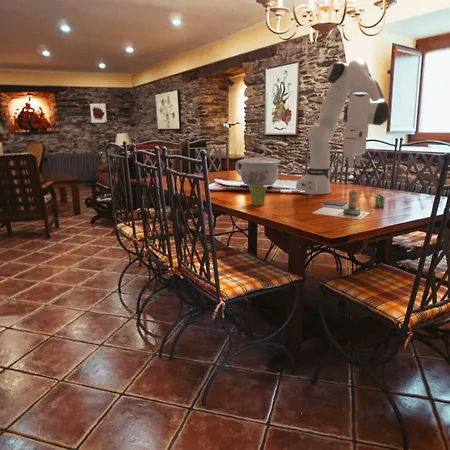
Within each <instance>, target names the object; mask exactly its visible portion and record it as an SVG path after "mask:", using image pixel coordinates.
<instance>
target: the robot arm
mask: <svg viewBox="0 0 450 450" xmlns="http://www.w3.org/2000/svg"><path fill="white" fill-rule="evenodd" d="M326 80H327V82H329V83H330V86H329V88H328V90H327V92H326V94H325V97H324V99H323V102H322V105H321V106H320V110H319V116H318V120H317V123H315V124H313V125H312V126H311V127H310V128H309V129H308V131H307V137H308V144H309V157H310V159H309V167H308V168H307V169H305V172H306V174H305V175H304V176H302V177H301V178H300V179H298V180H297V182H296V184H295V188H296V189H298V190H304V191H305V192H300V191H293V190H295V189H294V188H293V190H291V192H293V193H299V194H306V195H326V194H327V195H328V194H331V193H332V189H331V184H330V181H331V180H330V178H331V168H330V167H331V153H330V142H331V140H332V139H333V137H334V135H335V132H336V129H337V126H338V122H339V119H340V116H341V113H342V111H343V118H342V120H343V121H344V122H345V123H346V125H345V130H344V131H343V133H342V138H343V144H342V145H343V146H342V148H343V149H342V150H343V152H342V153H343V156H344V158H345V157H346V158H347V163H348V164H347V165H348V168H353V167H354V165H355V166H359V165H360V164H361V159H362V156H363V155H364V154H366V151H367V138H368V137H369V126H370V125H373V126H381V125H384V124H385V123H386V122H387V121H388V120H389V115H390V107H389V105H388V102H387V101H386V99H385V97H384V94H383V92H382V90H381V86H380V84H379V82H378V81H376V80H375V79H373V78H372V74H371V73H370V71H369V67H368V65H367V63H366V61H365V60H364V59H362V58H356V59H353V60H351V61H350V62H349V63H344V62H342V61H335V62H333V63H332V64H331V65H330V66H329V68H328V70H327V76H326ZM349 94H350V95H349ZM348 96H349V100H348V103H347V104H346V102H347V99H348ZM370 100H371V101H370ZM345 104H346V105H345ZM354 157H356V158H354ZM354 159H355V161H354Z"/></svg>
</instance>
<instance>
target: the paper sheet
mask: <svg viewBox="0 0 450 450" xmlns="http://www.w3.org/2000/svg"><path fill="white" fill-rule="evenodd" d="M343 210H344V209H336V208H327V207H320V208H318V209H317V210H315V211H313V212H311V213H312V214H313V215H319V216H329V217H336V218H344V219H353V220H360V221H362V220H363V219H365V218H366V217H367V216H368V215H370V214H371V212H368V211H362V210H360V214H359V215H358V216H351V215H343Z"/></svg>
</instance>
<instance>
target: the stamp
mask: <svg viewBox="0 0 450 450" xmlns="http://www.w3.org/2000/svg"><path fill="white" fill-rule="evenodd" d="M358 194H359V193H358V191H356V190H354V189H353V190H350V191H349V192H348V203H349V206H347V207H345V208H344V210H343V215H351V216H358V215H359V214H360V211H361V210H362V209H361V207H358V206H357V200H358Z"/></svg>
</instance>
